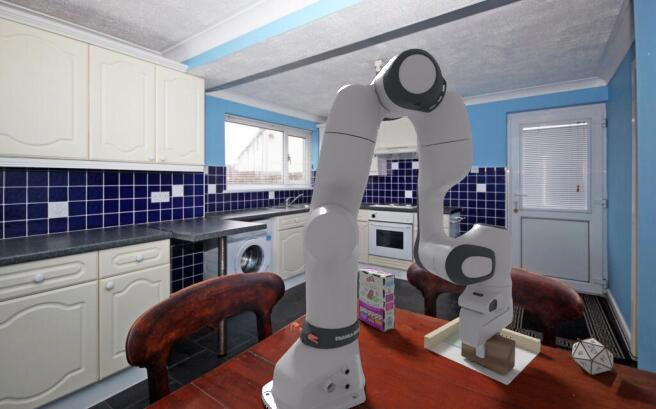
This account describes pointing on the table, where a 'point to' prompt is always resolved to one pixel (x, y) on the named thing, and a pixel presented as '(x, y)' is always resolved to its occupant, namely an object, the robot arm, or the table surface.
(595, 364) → the game die
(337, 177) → the robot arm
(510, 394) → the table surface
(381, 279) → the candy bar box
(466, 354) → the walnut block
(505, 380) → the arena
